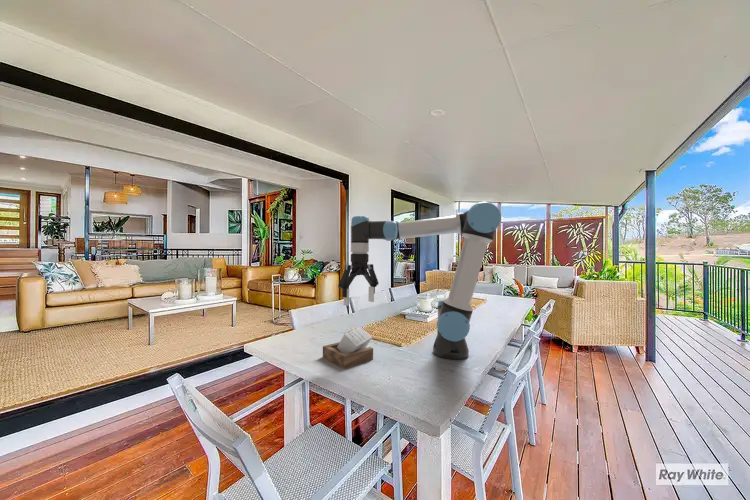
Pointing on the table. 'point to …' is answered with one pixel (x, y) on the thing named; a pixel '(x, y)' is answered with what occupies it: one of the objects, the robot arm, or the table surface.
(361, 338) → the supplement box
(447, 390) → the table surface
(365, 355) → the u rest
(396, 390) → the table surface
